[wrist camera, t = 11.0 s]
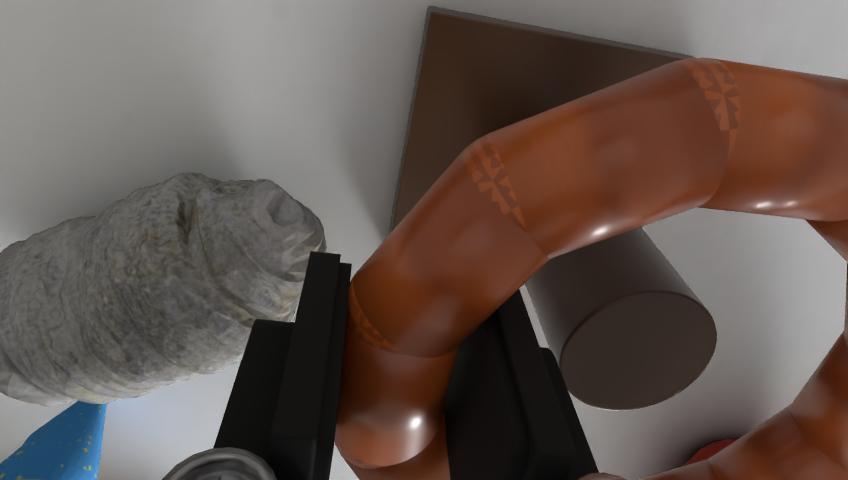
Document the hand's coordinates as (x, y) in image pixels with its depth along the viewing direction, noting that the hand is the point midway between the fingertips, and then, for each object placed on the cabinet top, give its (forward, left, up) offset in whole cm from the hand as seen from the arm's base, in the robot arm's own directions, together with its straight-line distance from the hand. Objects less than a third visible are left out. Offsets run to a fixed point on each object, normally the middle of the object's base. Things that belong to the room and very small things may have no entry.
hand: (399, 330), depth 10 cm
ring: (-5, 0, +1) cm, 5 cm away
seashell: (+8, +6, -10) cm, 15 cm away
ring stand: (-5, 0, -10) cm, 11 cm away
